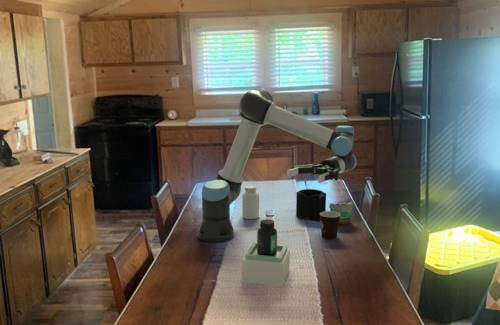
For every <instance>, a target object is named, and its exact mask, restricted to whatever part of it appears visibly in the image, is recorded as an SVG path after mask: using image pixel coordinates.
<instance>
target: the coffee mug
mask: <svg viewBox="0 0 500 325" xmlns="http://www.w3.org/2000/svg"><path fill="white" fill-rule="evenodd" d="M339 220H340V214H339V213H337V212H332V211H330V210H329V211H328V210H326V211H325V212H321V213H320V222H319V224H320V231H321V232H320V233H321V237H322V238H323V239H324V240H334V239H336V238H337V237H338V232H339Z"/></svg>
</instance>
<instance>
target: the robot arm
mask: <svg viewBox="0 0 500 325" xmlns="http://www.w3.org/2000/svg"><path fill="white" fill-rule="evenodd" d="M274 100H275V99H274V97H273V95H272V93H270V92H269V90H267V89H262V88H256V89H253V90H248V91H247V92H246V93H244V94H243V95H242V96H241V99H240V100H239V108H240V113H239V117H240V123H239V126H238V129H237V132H236V134H235V137H234V140H233V142H232V144H231V147H230V150H229V152H228V156H227V158H226V161H225V164H224V166H223V169H221V170H219V171H218V173H217V175H216V178H215V179H212V180H210V181H206V182H205V183H203V185H202V187H201V207H202V208H201V212H202V213H201V214H202V215H201V216H202V217H201V218H202V219H201V222H200V224H199V225H200V226H199V229H198V238H199V239H200V240H201V241H204V242H208V243H222V242H226V241H230V240H232V239H233V238H235V230H234V228H233V225H232V221H231V218H230V217H231V216H230V214H231V212H230V210H231V209H230V208H231V205H232V203H233V202H235V201H236V200H237V198H239V196H240V194H241V191H242V190H241V189H242V184H243V182H244V179H243V177H242V175H243V172H244V170H245V167H246V165H247V162H248V160H249V157H250V154H251V152H252V149H253V147H254V144H255V141H256V139H257V137H258V134H259V131H260V128H261V127H263V126H265V125H268V124H269V125H271V126H274V127H276V128H279V129H280V130H283V131H286V132H287V133H289V134H292V135H294V136H297V137H299V138H302V139H304V140H306V141H308V142H311V143H312V144H316V145H318V146H320V147H322V148H325V149H326V150H330V151H331V152H332V153H334V156H332V157H329V158H326V159H323V160H322V161H320V163H318V164H313V163H310V164H309V163H308V164H302V165H292V166H291V169H287V171H286V172H287V173H286V174H287V175H286V178H292V177H295V176H297V177H298V175H301V174H312V175H317V180H318V184H322V183H324V182H327V181H333V179H334V181H338V180H339V176H341V175H342V174H345V173H348V172H350V171H352V170H354V168H356V166H357V162H358V161H357V158H356V156H355V155H354V140H355V138H354V137H355V128H354V126H351V125H337V126H336V127H335V130H334V129H331V128H330V127H329V128H328V127H326V126H324V125H321V124H319V123H317V122H314V121H312V120H310V119H309V118H305V117H304V116H301V115H298V114H295V113H293V112H291V111H289V110H287V109H285V108H284V109H283V108H282V107H280V106H278V105H276V104H275V101H274Z"/></svg>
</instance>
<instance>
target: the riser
mask: <svg viewBox="0 0 500 325" xmlns="http://www.w3.org/2000/svg"><path fill="white" fill-rule="evenodd" d="M290 249H291V248H288V245H285V244H277V254H276V256H264V255H258V254H257V242H252V244H251V245H250V247H249V249H248V250H247V251H246V254H245V255H244V257H243V258H242V260H241V262H242V263H241V264H242V266H241V267H242V268H241V270H242V272H241V273H242V275H241V278H242V280H241V281H242V283H249V284H257V285H268V286H274V287H275V286H278V287H283V286H284V285H285V282H286V279H287V278H288V274H289V272H290V258H291V257H290V256H291V253H290V252H291V250H290Z"/></svg>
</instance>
